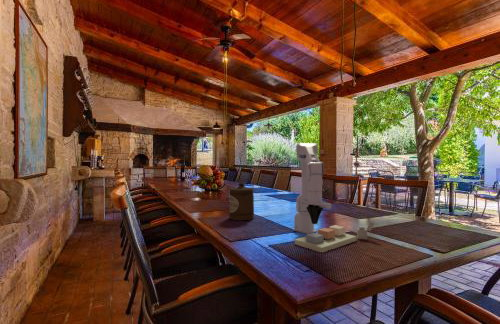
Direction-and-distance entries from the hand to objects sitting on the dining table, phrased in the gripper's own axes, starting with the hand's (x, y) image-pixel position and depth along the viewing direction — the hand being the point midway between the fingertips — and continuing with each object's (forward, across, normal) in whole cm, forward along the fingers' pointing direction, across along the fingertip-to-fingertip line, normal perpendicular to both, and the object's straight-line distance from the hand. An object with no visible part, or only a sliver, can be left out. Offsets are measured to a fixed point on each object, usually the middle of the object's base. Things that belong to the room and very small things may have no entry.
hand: (314, 223), depth 116 cm
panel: (+9, 0, +8) cm, 12 cm away
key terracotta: (+7, 0, +8) cm, 11 cm away
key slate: (+8, 0, 0) cm, 8 cm away
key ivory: (+7, 0, +16) cm, 17 cm away
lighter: (+10, +8, +26) cm, 29 cm away
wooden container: (+10, -61, +8) cm, 62 cm away
